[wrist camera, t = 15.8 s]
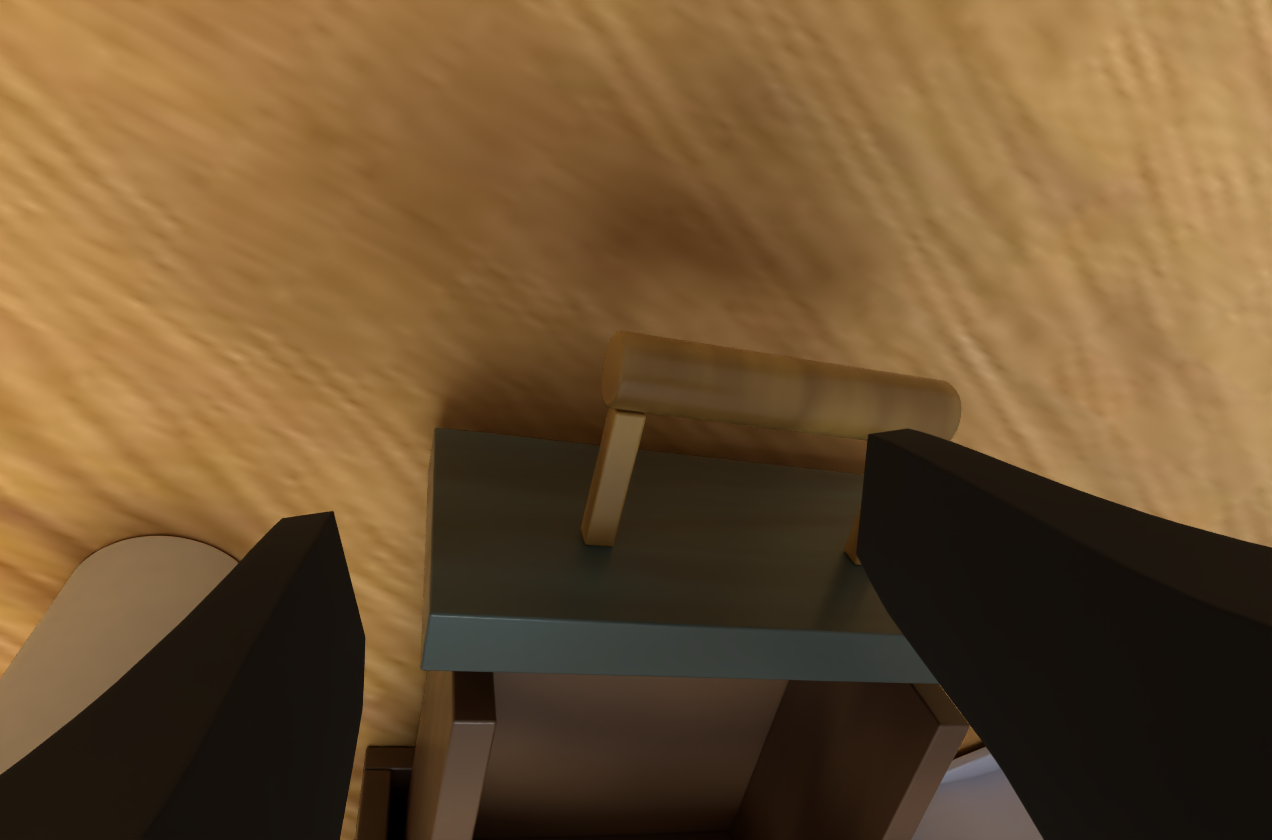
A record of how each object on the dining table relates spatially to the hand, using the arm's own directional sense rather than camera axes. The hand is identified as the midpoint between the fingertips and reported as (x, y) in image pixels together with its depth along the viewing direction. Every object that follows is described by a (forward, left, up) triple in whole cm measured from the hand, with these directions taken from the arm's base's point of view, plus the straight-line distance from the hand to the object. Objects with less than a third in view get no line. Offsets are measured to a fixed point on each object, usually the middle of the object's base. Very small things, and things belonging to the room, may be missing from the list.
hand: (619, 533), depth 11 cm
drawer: (0, +8, -9) cm, 12 cm away
